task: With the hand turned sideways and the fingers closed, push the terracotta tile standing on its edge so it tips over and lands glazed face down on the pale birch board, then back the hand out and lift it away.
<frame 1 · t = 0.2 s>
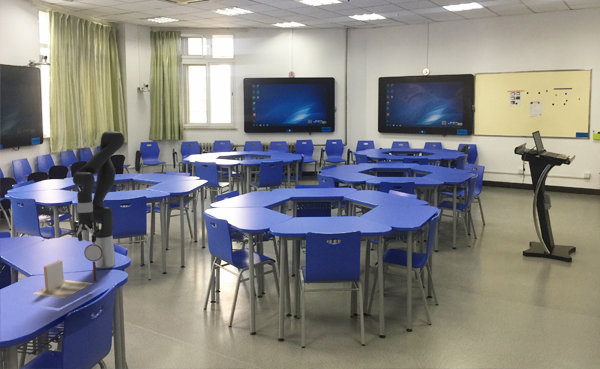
hand: (87, 241, 272), 18 cm above the table, tool pointing down, fingers open, 8 cm apart
board: (63, 290, 252), on the table
magnifying glass: (95, 283, 262), on the table
tile: (55, 287, 253), point 1 cm above the table, touching board
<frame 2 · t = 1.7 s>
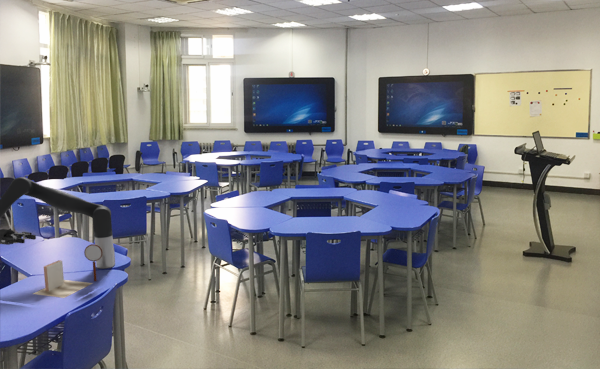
hand: (29, 239, 252), 24 cm above the table, tool horizontal, fingers open, 6 cm apart
nothing on the table moved.
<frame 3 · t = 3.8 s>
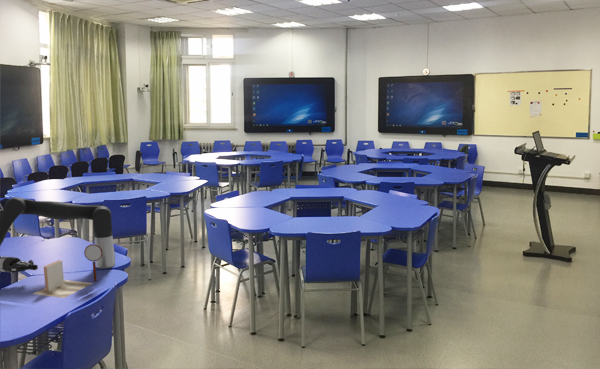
hand: (36, 267, 254), 10 cm above the table, tool horizontal, fingers closed
nothing on the table moved.
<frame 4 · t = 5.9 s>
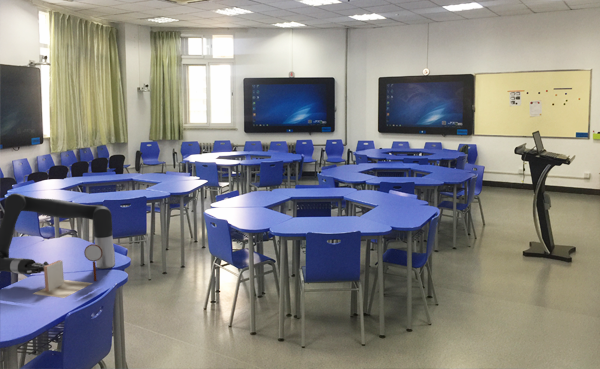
hand: (52, 269, 252), 10 cm above the table, tool horizontal, fingers closed
tile: (55, 287, 253), point 1 cm above the table, touching board, gripper
everything else where it was.
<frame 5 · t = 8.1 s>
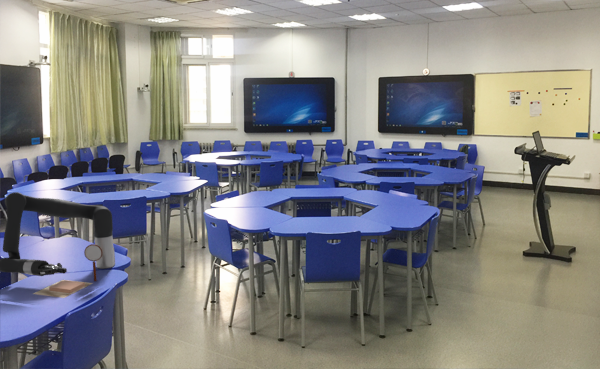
hand: (65, 270, 249), 10 cm above the table, tool horizontal, fingers closed
tile: (56, 285, 252), point 2 cm above the table, tilted 90°, touching board
everything else where it was.
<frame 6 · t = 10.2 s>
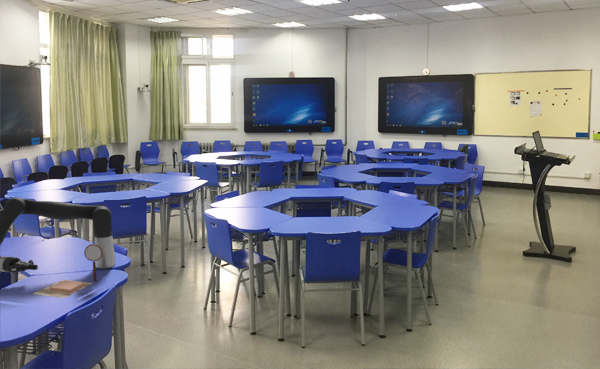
hand: (36, 267, 254), 10 cm above the table, tool horizontal, fingers closed
nothing on the table moved.
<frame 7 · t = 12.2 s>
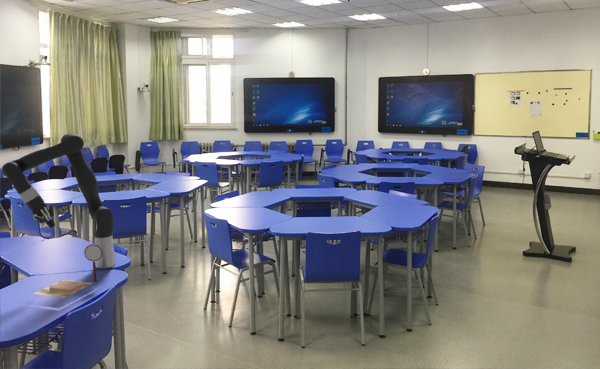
hand: (53, 226, 259), 28 cm above the table, tool tilted 30°, fingers closed
nothing on the table moved.
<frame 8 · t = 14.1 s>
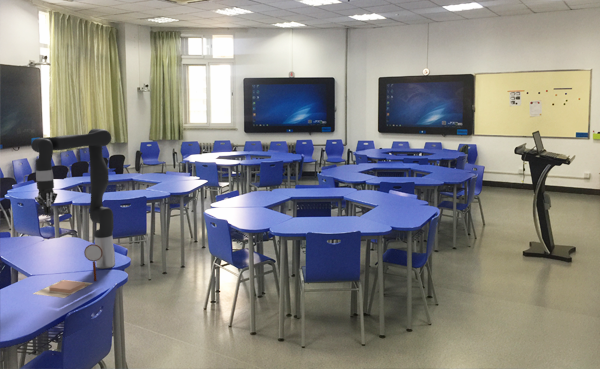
hand: (47, 213, 258), 35 cm above the table, tool pointing down, fingers closed
nothing on the table moved.
at the end: tile tilted 90°; tile inside the target area (0.3 cm from its centre), point 2.0 cm above the table; tile touching board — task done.
